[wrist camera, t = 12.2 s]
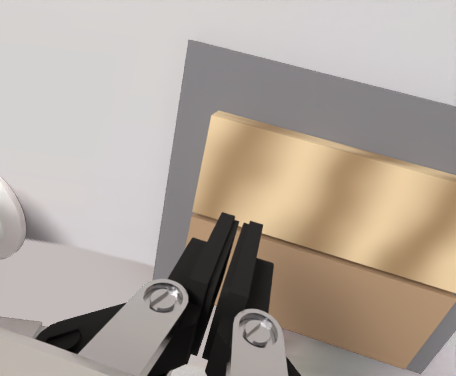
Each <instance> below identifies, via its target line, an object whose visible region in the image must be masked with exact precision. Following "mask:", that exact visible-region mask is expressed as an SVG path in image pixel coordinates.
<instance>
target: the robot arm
mask: <svg viewBox="0 0 456 376" xmlns="http://www.w3.org/2000/svg"><path fill="white" fill-rule="evenodd" d="M238 225H239V221H237V220H235V216H234V215H230V214H227V213H224V212H222V213H221V215H220V217H219V219H218V221H217V223H216V225H215V227H214V229H213V231H212V233H211V235H210V237H209V239H208V241H207V242H206V241H203V240H200V239H197V238H194V237H193V238H192V239H191V240H190V242H189V243H188V245H187V247H186V248H185V250H184V252H183V254H182V255H181V257H180V259H179V260H178V262H177V264H176V265H175V267H174V269H173V270H172V272H171V274H170V275H169V277H168V279H156V280H153V281H150V282H148V283H147V284H145V285H144V286H142V288H141V289H140V290H139V291H138V292H137V293H136V294H135V295H134V296H133V297H132V298H131V299H130V300H129V301H128V302H127V303H124V304H120V305H117V306H113V307H109V308H106V309H102V310H99V311H95V312H91V313H88V314H85V315H81V316H77V317H74V318H70V319H67V320H63V321H60V322H57V323H55V324H52V325H50V326H49V327H45V326H42V322H38V321H30V320H22V319H14V318H6V317H0V376H171V373H172V370H173V369H176V368H178V367H180V366H182V365H185V364H187V363H188V361H189V358H190V355H191V354H193V355H196V356H197V354H198V351H199V348H200V346H201V343H202V340H203V337H204V334H205V331H206V328H207V325H208V322H209V319H210V316H211V313H212V310H213V307H214V304H215V301H216V298H217V295H218V292H219V290H220V287H221V284H222V281H223V277H224V274H225V271H226V267H227V264H228V260H229V256H230V253H231V249H232V246H233V242H234V239H235V235H236V232H237V228H238ZM262 229H263V224H260V223H256V222H253V221H250V222H249V224H247V223H243V226H242V229H241V232H240V235H239V238H238V241H237V244H236V247H235V250H234V253H233V256H232V259H231V262H230V265H229V268H228V271H227V274H226V277H225V280H224V283H223V286H222V290H221V293H220V296H219V300H218V303H217V307H216V310H215V314H214V317H213V321H212V324H211V328H210V331H209V335H208V339H207V342H206V345H205V349H204V352H203V356H202V358H204V359H207V360H208V363H207V366H206V370H205V372H206V374H207V376H301V375H300V374H299V373H298V371H297V370H296V369H295V367H294V366H293V365H292V363H291V362H290V361H289V359H288V358H287V357H286V354H285V345H284V337H283V332H282V329H281V327H280V325H279V323H278V322H277V321H276V320H275V319H274V318H273V317H272V316H271V315H269V314H268V313H269V304H270V295H271V287H272V278H273V269H274V263H272V262H269V261H265V260H262V259H259V258H257V253H258V248H259V243H260V239H261V234H262Z"/></svg>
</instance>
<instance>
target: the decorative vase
mask: <svg viewBox="0 0 456 376" xmlns="http://www.w3.org/2000/svg"><path fill="white" fill-rule="evenodd" d="M25 236H26V222H25V217H24V213H23V210H22V207H21V205H20V203H19V201H18V199H17V197H16V196H15V194H14V192H13V191H12V189H11V188H10V187H9V185H8V184H7V183H6V182H5V181H4V180H3V178H2V177H1V176H0V259H5V258H7V257H9V256H11V255H12V254H14V253H15V252H17V251H18V250H19V249H20V247H21V246H22V244H23V242H24V240H25Z"/></svg>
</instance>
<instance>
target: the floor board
mask: <svg viewBox="0 0 456 376" xmlns="http://www.w3.org/2000/svg"><path fill="white" fill-rule="evenodd" d="M218 110H219V111H222V112H226V113H230V114H233V115H237V116H241V117H244V118H248V119H252V120H255V121H259V122H263V123H266V124H270V125H274V126H277V127H281V128H285V129H288V130H292V131H296V132H299V133H303V134H307V135H310V136H314V137H318V138H321V139H325V140H329V141H332V142H336V143H340V144H343V145H347V146H351V147H354V148H358V149H362V150H365V151H369V152H373V153H376V154H380V155H384V156H387V157H391V158H395V159H398V160H402V161H406V162H409V163H413V164H416V165H420V166H424V167H427V168H431V169H435V170H438V171H442V172H446V173H449V174H453V175H456V107H455V106H451V105H447V104H443V103H439V102H435V101H431V100H427V99H423V98H419V97H416V96H412V95H408V94H404V93H400V92H396V91H392V90H388V89H384V88H380V87H376V86H372V85H368V84H364V83H360V82H356V81H352V80H348V79H344V78H340V77H336V76H332V75H328V74H324V73H320V72H316V71H312V70H308V69H304V68H300V67H296V66H293V65H289V64H285V63H281V62H277V61H273V60H269V59H265V58H261V57H257V56H253V55H249V54H245V53H241V52H237V51H233V50H229V49H225V48H221V47H217V46H213V45H209V44H205V43H201V42H197V41H193V40H188V47H187V53H186V60H185V67H184V73H183V80H182V87H181V93H180V100H179V107H178V114H177V120H176V127H175V134H174V140H173V147H172V154H171V160H170V167H169V174H168V180H167V187H166V194H165V200H164V207H163V214H162V220H161V227H160V234H159V240H158V247H157V254H156V261H155V267H154V274H153V280H156V279H168V277H169V275H170V274H171V272H172V270H173V269H174V267H175V265H176V264H177V262H178V260H179V259H180V257H181V255H182V254H183V252H184V250H185V248H186V247H187V245H188V243H189V242H190V240H191V239H192V238H193V237H194V238H197V239H200V240H203V241H206V242H207V241H208V239H209V237H210V235H211V233H212V231H213V229H214V227H215V225H216V223H217V221H218V220H217V219H214V218H211V217H208V216H204V215H201V214H198V213H195V212H192V210H193V205H194V200H195V195H196V190H197V185H198V180H199V175H200V170H201V165H202V160H203V155H204V150H205V145H206V140H207V135H208V130H209V125H210V120H211V115H212V114H214V113H215V112H217V111H218ZM241 229H242V227H240V226H238V228H237V232H236V235H235V239H234V242H233V246H232V249H231V253H230V256H229V260H228V264H227V267H226V271H225V274H224V277H223V281H222V284H221V287H220V290H219V292H218V295H217V298H216V301H215V304H214V305H216V306H217V303H218V300H219V296H220V293H221V290H222V286H223V283H224V280H225V277H226V274H227V271H228V268H229V265H230V262H231V259H232V256H233V253H234V250H235V247H236V244H237V241H238V238H239V235H240V232H241ZM257 258H259V259H262V260H265V261H269V262H272V263H274V269H273V278H272V287H271V295H270V304H269V313H268V314H269V315H271V316H272V317H273V318H274V319H275V320H276V321H277V322H278V323H279V325H280V327H281V328H284V329H287V330H289V331H292V332H295V333H298V334H301V335H304V336H307V337H310V338H313V339H316V340H319V341H322V342H325V343H328V344H331V345H334V346H337V347H340V348H343V349H346V350H349V351H352V352H354V353H357V354H360V355H363V356H366V357H369V358H372V359H375V360H378V361H381V362H384V363H387V364H390V365H393V366H396V367H399V368H402V369H407V370H410V371H413V372H416V373H419V374H421V373H422V372H423V371H424V369H425V368H426V367H427V366H428V364H429V363H430V362H431V361H432V359H433V358H434V357H435V356H436V354H437V353H438V352H439V351H440V349H441V348H442V347H443V346H444V344H445V343H446V342H447V341H448V339H449V338H450V337H451V336H452V334H453V333H454V332H455V331H456V293H453V292H450V291H447V290H443V289H440V288H437V287H434V286H431V285H427V284H424V283H421V282H418V281H414V280H411V279H408V278H405V277H401V276H398V275H395V274H392V273H389V272H385V271H382V270H379V269H376V268H372V267H369V266H366V265H363V264H359V263H356V262H353V261H350V260H347V259H343V258H340V257H337V256H334V255H330V254H327V253H324V252H321V251H317V250H314V249H311V248H308V247H305V246H301V245H298V244H295V243H292V242H288V241H285V240H282V239H279V238H275V237H272V236H269V235H266V234H263V233H262V234H261V239H260V243H259V248H258V253H257Z"/></svg>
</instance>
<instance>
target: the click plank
mask: <svg viewBox="0 0 456 376" xmlns="http://www.w3.org/2000/svg"><path fill="white" fill-rule="evenodd" d="M192 212H195V213H198V214H201V215H204V216H208V217H211V218H214V219H217V220H218V219H219V217H220V215H221V213H222V212H224V213H227V214H230V215H234V216H235V220H237V221H239V225H238V226H240V227H242V226H243V223H247V224H249V222H250V221H253V222H256V223H260V224H263V229H262V233H263V234H266V235H269V236H272V237H275V238H279V239H282V240H285V241H288V242H292V243H295V244H298V245H301V246H305V247H308V248H311V249H314V250H317V251H321V252H324V253H327V254H330V255H334V256H337V257H340V258H343V259H347V260H350V261H353V262H356V263H359V264H363V265H366V266H369V267H372V268H376V269H379V270H382V271H385V272H389V273H392V274H395V275H398V276H401V277H405V278H408V279H411V280H414V281H418V282H421V283H424V284H427V285H431V286H434V287H437V288H440V289H443V290H447V291H450V292H453V293H456V175H453V174H449V173H446V172H442V171H438V170H435V169H431V168H427V167H424V166H420V165H416V164H413V163H409V162H406V161H402V160H398V159H395V158H391V157H387V156H384V155H380V154H376V153H373V152H369V151H365V150H362V149H358V148H354V147H351V146H347V145H343V144H340V143H336V142H332V141H329V140H325V139H321V138H318V137H314V136H310V135H307V134H303V133H299V132H296V131H292V130H288V129H285V128H281V127H277V126H274V125H270V124H266V123H263V122H259V121H255V120H252V119H248V118H244V117H241V116H237V115H233V114H230V113H226V112H222V111H219V110H218V111H217V112H215V113H214V114H212V115H211V120H210V125H209V130H208V135H207V140H206V145H205V150H204V155H203V160H202V165H201V170H200V175H199V180H198V185H197V190H196V195H195V200H194V205H193V210H192Z"/></svg>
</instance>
